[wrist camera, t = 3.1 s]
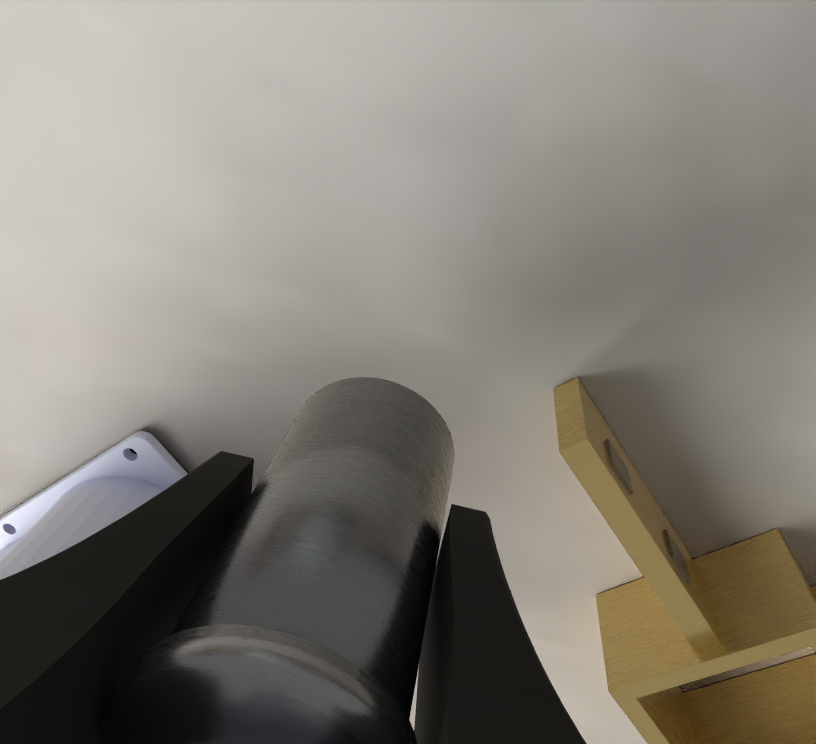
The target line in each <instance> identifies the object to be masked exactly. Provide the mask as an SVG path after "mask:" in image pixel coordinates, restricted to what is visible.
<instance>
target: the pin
mask: <svg viewBox="0 0 816 744" xmlns="http://www.w3.org/2000/svg"><path fill="white" fill-rule="evenodd" d="M453 464H454V446H453V441H452V437H451V434H450V431H449V429H448V427H447V425H446V423H445V421H444V420H443V418H442V417H441V415H440V414H439V413H438V412H437V410H436V409H435V408H434V407H433V406H432V405H431V404H430V403H429V402H428V401H427V400H425V399H424V398H423V397H421V396H420V395H419V394H417V393H416V392H414V391H412V390H410V389H408V388H407V387H404V386H402V385H400V384H397V383H394V382H391V381H387V380H383V379H377V378H365V377H361V378H350V379H345V380H341V381H338V382H335V383H332V384H330V385H328V386H326V387H324V388H322V389H320V390H319V391H318V392H316V393H315V394H314V395H313V396H312V397H310V398H309V399H308V401H307V402H306V403H305V404H304V406H303V407H302V409H301V411H300V412H299V414H298V416H297V417H296V419H295V421H294V423H293V424H292V426H291V428H290V429H289V431H288V433H287V435H286V436H285V438H284V440H283V441H282V443H281V445H280V447H279V448H278V450H277V452H276V454H275V455H274V457H273V459H272V460H271V462H270V464H269V466H268V467H267V469H266V471H265V472H264V474H263V476H262V478H261V479H260V481H259V483H258V484H257V486H256V488H255V490H254V491H253V493H252V495H251V496H250V498H249V500H248V502H247V503H246V505H245V507H244V508H243V510H242V512H241V514H240V515H239V517H238V519H237V521H236V522H235V524H234V526H233V527H232V529H231V531H230V533H229V534H228V536H227V538H226V539H225V541H224V543H223V545H222V546H221V548H220V550H219V551H218V553H217V555H216V557H215V558H214V560H213V562H212V563H211V565H210V567H209V569H208V570H207V572H206V574H205V575H204V577H203V579H202V581H201V582H200V584H199V586H198V588H197V589H196V591H195V593H194V594H193V596H192V598H191V600H190V601H189V603H188V605H187V606H186V608H185V610H184V612H183V613H182V615H181V617H180V618H179V620H178V622H177V624H176V625H175V627H174V629H173V630H172V632H171V634H170V635H167V636H166V637H164V638H162V639H160V640H158V641H157V642H155V643H153V644H152V645H151V646H150V647H149V648H147V649H146V650H145V651H144V652H143V653H142V654H141V655H140V656H139V658H138V659H137V660H136V661H135V663H134V665H133V666H132V668H131V670H130V671H129V673H128V674H127V676H126V678H125V679H124V681H123V683H122V684H121V686H120V688H119V689H118V691H117V692H116V694H115V696H114V697H113V699H112V701H111V702H110V704H109V706H108V708H107V710H106V712H105V713H104V715H103V719H102V723H101V730H100V740H101V744H417V741H416V736H415V733H414V731H413V728H412V726H411V723H410V721H409V717H410V711H411V706H412V700H413V694H414V688H415V683H416V677H417V671H418V665H419V660H420V654H421V648H422V642H423V637H424V631H425V625H426V619H427V614H428V608H429V602H430V596H431V591H432V585H433V579H434V573H435V568H436V562H437V556H438V550H439V545H440V539H441V533H442V527H443V522H444V516H445V510H446V504H447V499H448V493H449V487H450V481H451V475H452V470H453Z"/></svg>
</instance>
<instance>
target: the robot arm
mask: <svg viewBox="0 0 816 744" xmlns="http://www.w3.org/2000/svg"><path fill="white" fill-rule="evenodd" d="M129 448H130V449H133V450H134V451H136V453H137V454H134V453H132V452H131V451H130V449H129ZM253 464H254V459H253V458H249V457H245V456H240V455H236V454H231V453H227V452H223V451H221V452H220V453H218V454H216V455H215V456H213V457H212V458H210V459H209V460H207V461H206V462H204V463H203V464H201V465H200V466H199V467H197V468H196V469H194V470H193V471H191V472H190V473H187V472H186V471H185V470H184V469H183V468H182V467H181V466H180V465H179V464H178V462H177V461H176V460H175V459H174V458H173V457H172V456H171V455H170V454H169V453H168V451H167V450H166V449H165V448H164V447H163V446H162V445H161V444H160V443H159V442H158V440H157V439H156V438H155V437H154V436H152V435H151V434H150V433H147V432H145V431H138V432H135V433H134V434H132V435H131V436H129V437H127V438H126V439H124V440H123V441H121V442H119V443H118V444H116V445H115V446H113V447H111V448H110V449H108V450H107V451H105V452H104V453H102V454H100V455H99V456H97V457H96V458H94V459H92V460H91V461H89V462H88V463H86V464H85V465H83V466H81V467H80V468H78V469H77V470H75V471H73V472H72V473H70V474H69V475H67V476H65V477H64V478H62V479H61V480H59V481H58V482H56V483H54V484H53V485H51V486H50V487H48V488H46V489H45V490H43V491H42V492H40V493H39V494H37V495H35V496H34V497H32V498H31V499H29V500H27V501H26V502H24V503H23V504H21V505H19V506H18V507H16V508H15V509H13V510H12V511H10V512H8V513H7V514H5V515H4V516H2V517H0V744H101V740H100V730H101V723H102V719H103V715H104V713H105V712H106V710H107V708H108V706H109V704H110V702H111V701H112V699H113V697H114V696H115V694H116V692H117V691H118V689H119V688H120V686H121V684H122V683H123V681H124V679H125V678H126V676H127V674H128V673H129V671H130V670H131V668H132V666H133V665H134V663H135V661H136V660H137V659H138V658H139V656H140V655H141V654H142V653H143V652H144V651H145V650H146V649H147V648H149V647H150V646H151V645H152V644H153V643H155V642H157V641H158V640H160V639H162V638H164V637H166V636H167V635H170V634H171V632H172V630H173V629H174V627H175V625H176V624H177V622H178V620H179V618H180V617H181V615H182V613H183V612H184V610H185V608H186V606H187V605H188V603H189V601H190V600H191V598H192V596H193V594H194V593H195V591H196V589H197V588H198V586H199V584H200V582H201V581H202V579H203V577H204V575H205V574H206V572H207V570H208V569H209V567H210V565H211V563H212V562H213V560H214V558H215V557H216V555H217V553H218V551H219V550H220V548H221V546H222V545H223V543H224V541H225V539H226V538H227V536H228V534H229V533H230V531H231V529H232V527H233V526H234V524H235V522H236V521H237V519H238V517H239V515H240V514H241V512H242V510H243V508H244V507H245V505H246V503H247V502H248V500H249V498H250V496H251V490H252V477H253ZM414 733H415V736H416V741H417V744H586V742H585V741H584V739H583V738H582V736H581V734H580V733H579V731H578V729H577V728H576V726H575V724H574V723H573V721H572V719H571V718H570V716H569V714H568V712H567V711H566V709H565V707H564V706H563V704H562V702H561V700H560V698H559V697H558V695H557V693H556V691H555V689H554V687H553V686H552V684H551V682H550V680H549V678H548V676H547V674H546V672H545V670H544V668H543V666H542V664H541V662H540V660H539V658H538V656H537V654H536V652H535V649H534V647H533V645H532V643H531V640H530V638H529V636H528V634H527V632H526V629H525V627H524V625H523V622H522V620H521V617H520V615H519V612H518V610H517V607H516V604H515V602H514V599H513V596H512V594H511V591H510V588H509V586H508V583H507V580H506V577H505V574H504V571H503V568H502V565H501V562H500V558H499V555H498V552H497V548H496V544H495V540H494V536H493V532H492V527H491V522H490V518H489V516H488V515H487V513H486V512H484V511H479V510H475V509H471V508H466V507H462V506H457V505H453V504H452V505H451V509H450V513H449V517H448V521H447V525H446V529H445V533H444V537H443V540H442V544H441V548H440V552H439V556H438V560H437V564H436V568H435V573H434V579H433V585H432V591H431V596H430V602H429V608H428V614H427V619H426V625H425V631H424V637H423V642H422V648H421V654H420V661H419V674H418V688H417V702H416V715H415V729H414Z"/></svg>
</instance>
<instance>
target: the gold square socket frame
mask: <svg viewBox="0 0 816 744" xmlns="http://www.w3.org/2000/svg"><path fill="white" fill-rule="evenodd" d="M554 398H555V409H556V420H557V430H558V441H559V452H560V453H561V455H562V456H563V458H564V459H565V461H566V462H567V464H568V465H569V467H570V468H571V470H572V471H573V473H574V474H575V476H576V477H577V478H578V480H579V481H580V483H581V484H582V486H583V487H584V489H585V490H586V492H587V493H588V495H589V496H590V498H591V499H592V501H593V502H594V504H595V505H596V507H597V508H598V510H599V511H600V513H601V514H602V516H603V517H604V518H605V520H606V521H607V523H608V524H609V526H610V527H611V529H612V530H613V532H614V533H615V535H616V536H617V538H618V539H619V541H620V542H621V544H622V545H623V547H624V548H625V550H626V551H627V553H628V554H629V555H630V557H631V558H632V560H633V561H634V563H635V564H636V566H637V567H638V569H639V570H640V572H641V573H642V575H643V576H644V578H641V579H638V580H635V581H633V582H630V583H627V584H625V585H622V586H619V587H616V588H614V589H611V590H608V591H605V592H603V593H600V594H597V595H596V601H597V609H598V616H599V624H600V631H601V639H602V646H603V654H604V661H605V669H606V676H607V684H608V691H609V693H610V694H611V695H612V697H613V698H614V699H615V701H616V702H617V703H618V705H619V706H620V707H621V709H622V710H623V711H624V713H625V714H626V715H627V717H628V718H629V719H630V721H631V722H632V723H633V725H634V726H635V727H636V729H637V730H638V731H639V733H640V734H641V735H642V737H643V738H644V739H645V741H646V742H647V743H648V744H816V654H814V655H810V656H807V657H804V658H800V659H797V660H793V661H790V662H787V663H783V664H780V665H776V666H773V667H770V668H766V669H763V670H759V671H756V672H753V673H749V674H746V675H742V676H739V677H736V678H732V679H729V680H726V681H722V682H719V683H715V684H712V685H709V686H705V687H702V688H698V689H695V690H692V691H688V692H685V693H684V692H683V691H682V689H681V688H680V687H679V685H682V684H686V683H689V682H692V681H696V680H699V679H702V678H706V677H709V676H712V675H716V674H719V673H722V672H726V671H729V670H732V669H736V668H739V667H742V666H746V665H749V664H752V663H756V662H759V661H763V660H766V659H769V658H773V657H776V656H779V655H783V654H786V653H789V652H793V651H796V650H799V649H803V648H806V647H809V646H812V647H813V649H814V650H815V652H816V586H813V587H810V586H809V584H808V582H807V580H806V579H805V577H804V575H803V573H802V572H801V570H800V568H799V566H798V565H797V563H796V561H795V559H794V558H793V556H792V554H791V552H790V551H789V549H788V547H787V545H786V544H785V542H784V540H783V538H782V537H781V535H780V533H779V531H778V530H777V529H774V530H772V531H769V532H766V533H764V534H761V535H758V536H755V537H753V538H750V539H747V540H744V541H742V542H739V543H736V544H734V545H731V546H728V547H725V548H723V549H720V550H717V551H714V552H712V553H709V554H706V555H704V556H701V557H698V558H695V559H693V558H692V557H691V555H690V554H689V552H688V550H687V549H686V547H685V546H684V544H683V543H682V541H681V539H680V538H679V536H678V535H677V533H676V532H675V530H674V528H673V527H672V525H671V524H670V522H669V521H668V519H667V517H666V516H665V514H664V513H663V511H662V510H661V508H660V506H659V505H658V503H657V502H656V500H655V499H654V497H653V495H652V494H651V492H650V491H649V489H648V488H647V486H646V484H645V483H644V481H643V480H642V478H641V477H640V475H639V473H638V472H637V470H636V469H635V467H634V466H633V464H632V462H631V461H630V459H629V458H628V456H627V455H626V453H625V452H624V450H623V448H622V447H621V445H620V444H619V442H618V441H617V439H616V437H615V436H614V434H613V433H612V431H611V430H610V428H609V426H608V425H607V423H606V422H605V420H604V419H603V417H602V415H601V414H600V412H599V411H598V409H597V408H596V406H595V404H594V403H593V401H592V400H591V398H590V397H589V395H588V393H587V392H586V390H585V389H584V387H583V386H582V384H581V382H580V381H579V379H578V378H575V379H573V380H571V381H569V382H567V383H565V384H563V385H561V386H559V387H557V388H555V389H554Z"/></svg>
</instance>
